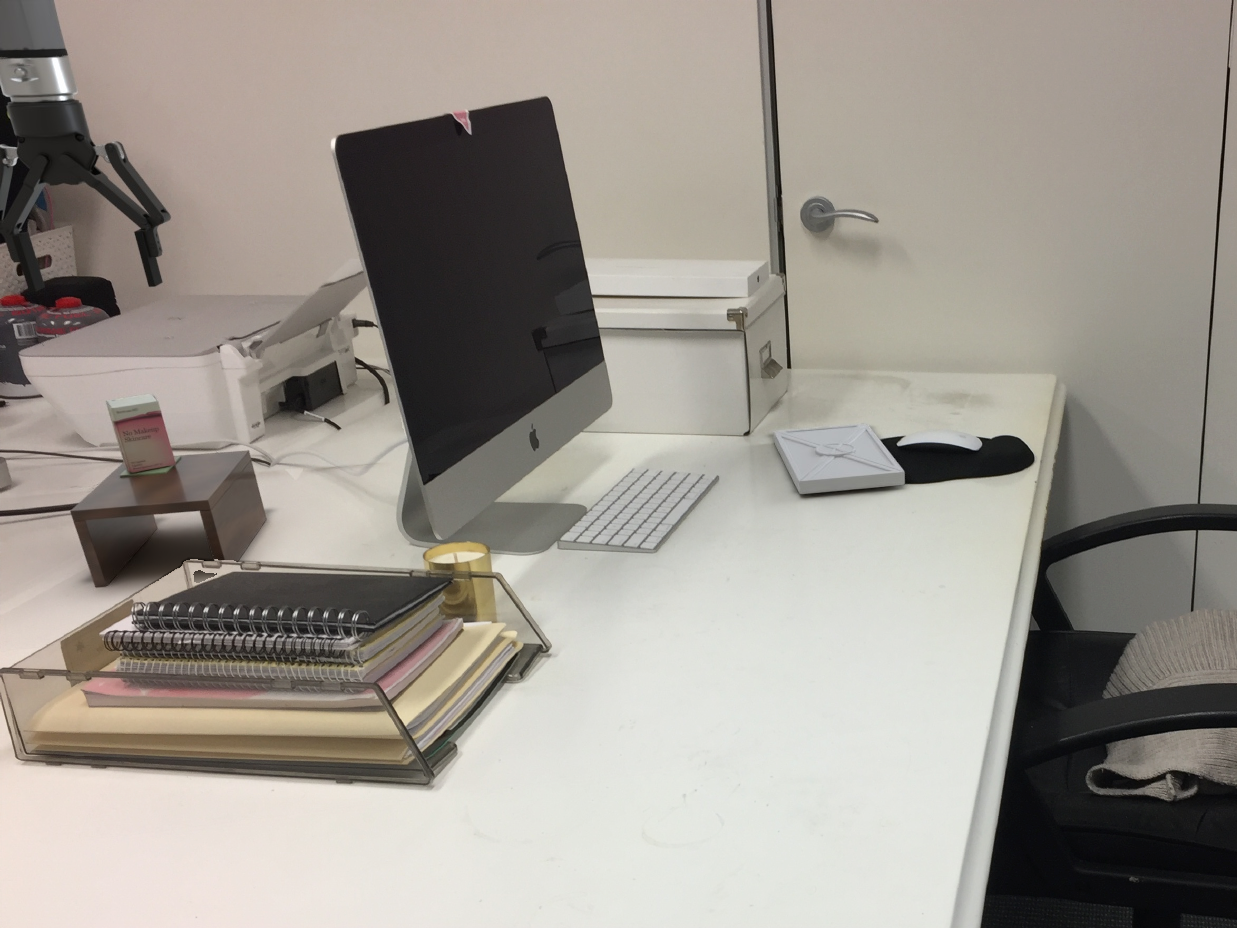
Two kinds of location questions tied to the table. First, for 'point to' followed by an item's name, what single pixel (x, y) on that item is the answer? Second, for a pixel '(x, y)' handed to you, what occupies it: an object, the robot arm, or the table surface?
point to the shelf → (169, 508)
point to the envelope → (837, 458)
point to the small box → (140, 432)
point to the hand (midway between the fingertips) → (97, 287)
